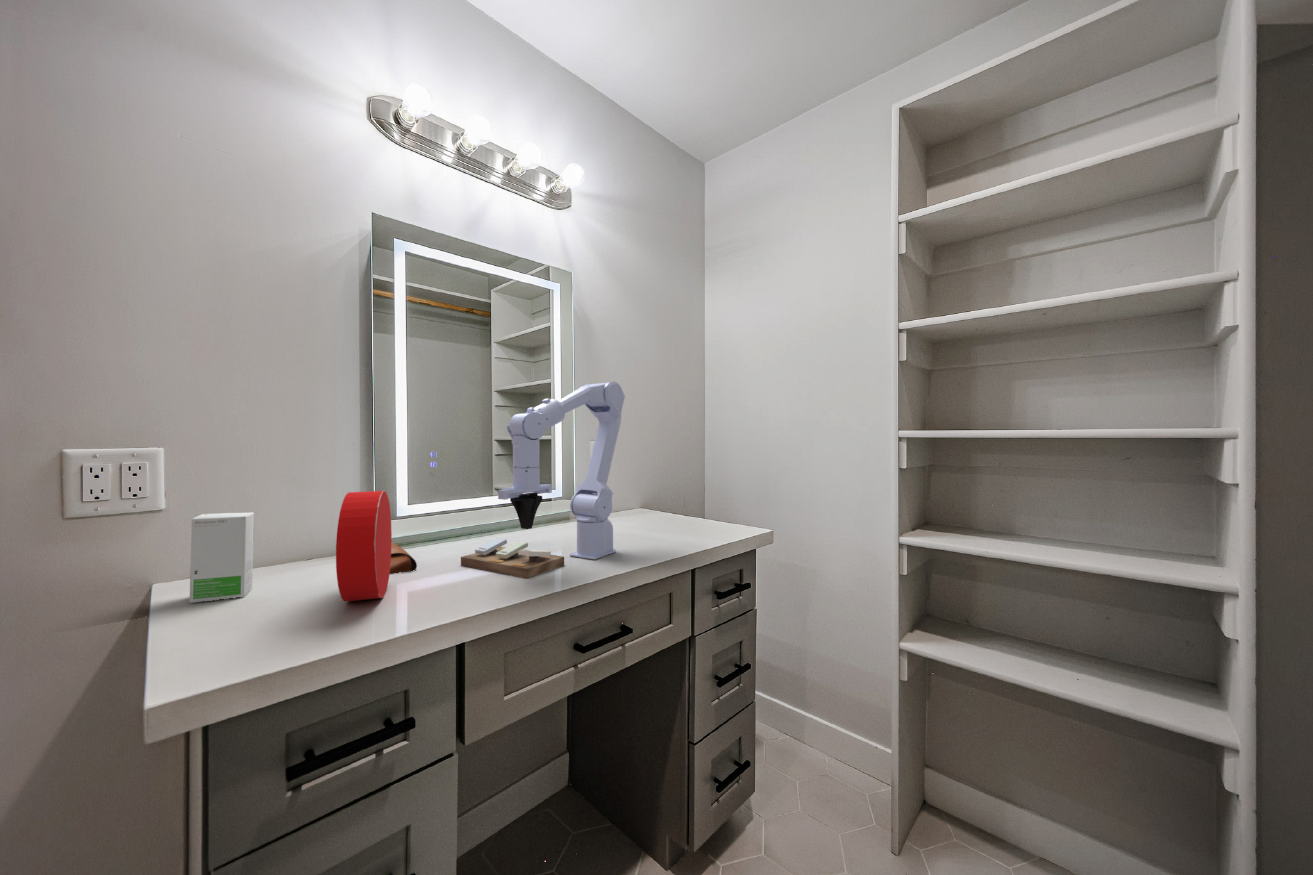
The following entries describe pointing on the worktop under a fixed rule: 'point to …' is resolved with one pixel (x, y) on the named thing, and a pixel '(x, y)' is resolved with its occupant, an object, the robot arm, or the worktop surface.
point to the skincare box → (221, 556)
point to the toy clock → (363, 545)
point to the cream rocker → (534, 553)
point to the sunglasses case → (401, 560)
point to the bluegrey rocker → (490, 546)
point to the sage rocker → (511, 549)
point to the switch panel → (513, 563)
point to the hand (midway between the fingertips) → (526, 528)
